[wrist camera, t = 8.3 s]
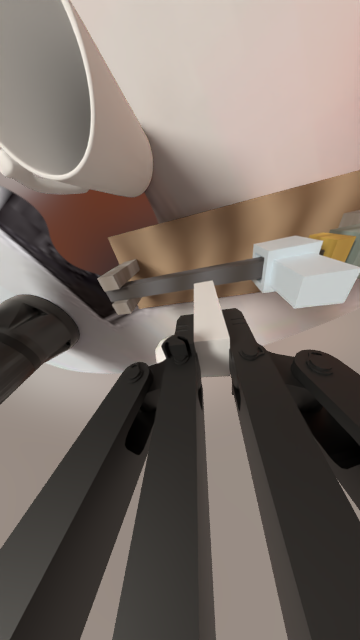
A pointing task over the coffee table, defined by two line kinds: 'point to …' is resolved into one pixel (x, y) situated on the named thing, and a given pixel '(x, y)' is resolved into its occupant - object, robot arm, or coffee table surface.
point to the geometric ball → (160, 352)
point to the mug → (64, 107)
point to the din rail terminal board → (231, 244)
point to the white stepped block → (303, 272)
